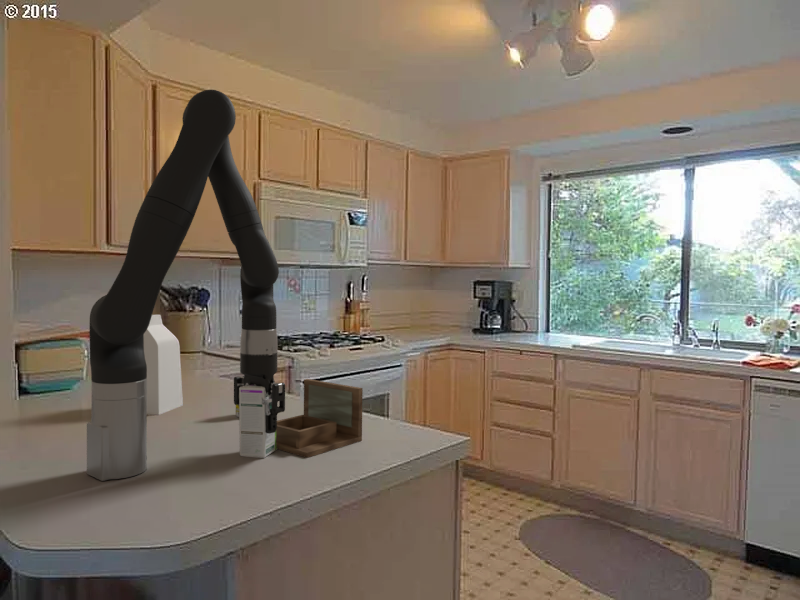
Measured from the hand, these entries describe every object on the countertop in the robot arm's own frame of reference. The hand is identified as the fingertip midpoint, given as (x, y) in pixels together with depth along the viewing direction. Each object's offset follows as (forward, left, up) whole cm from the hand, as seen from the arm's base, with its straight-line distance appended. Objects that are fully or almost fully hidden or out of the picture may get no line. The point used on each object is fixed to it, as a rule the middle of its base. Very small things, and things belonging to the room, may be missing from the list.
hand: (258, 429), depth 119 cm
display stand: (+13, -1, -5) cm, 14 cm away
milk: (+7, +55, -5) cm, 56 cm away
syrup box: (0, 0, -5) cm, 5 cm away
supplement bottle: (+19, +29, -5) cm, 35 cm away
